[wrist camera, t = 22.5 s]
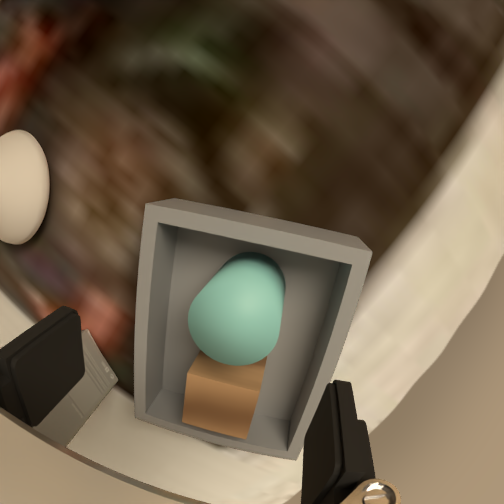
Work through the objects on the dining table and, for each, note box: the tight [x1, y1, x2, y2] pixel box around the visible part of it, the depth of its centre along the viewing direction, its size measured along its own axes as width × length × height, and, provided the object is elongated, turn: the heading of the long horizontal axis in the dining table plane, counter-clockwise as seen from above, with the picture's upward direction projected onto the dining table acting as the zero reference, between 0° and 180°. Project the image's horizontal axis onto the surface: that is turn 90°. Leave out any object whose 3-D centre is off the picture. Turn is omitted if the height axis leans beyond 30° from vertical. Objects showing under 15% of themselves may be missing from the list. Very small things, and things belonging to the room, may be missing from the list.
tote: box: [134, 198, 372, 460], centre depth 23 cm, size 18×14×5 cm
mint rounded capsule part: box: [188, 252, 286, 366], centre depth 20 cm, size 5×5×7 cm
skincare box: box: [33, 329, 118, 447], centre depth 22 cm, size 8×7×16 cm
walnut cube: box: [182, 350, 267, 439], centre depth 23 cm, size 5×5×5 cm
